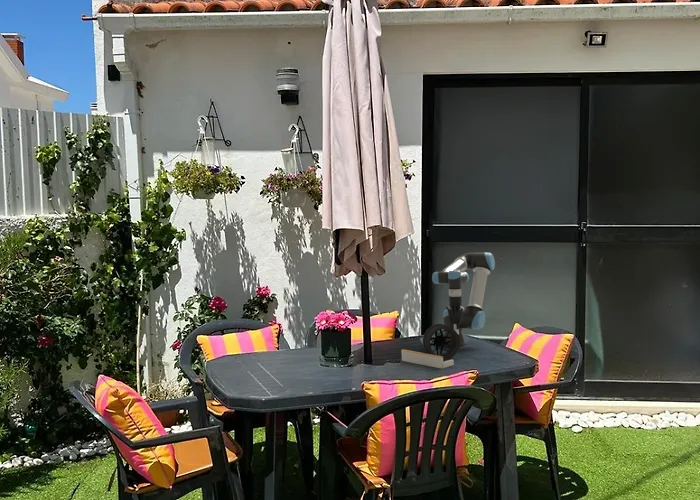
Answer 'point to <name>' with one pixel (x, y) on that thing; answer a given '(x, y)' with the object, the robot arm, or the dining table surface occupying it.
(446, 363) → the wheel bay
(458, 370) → the dining table surface
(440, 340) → the wheel rim
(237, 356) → the dining table surface
